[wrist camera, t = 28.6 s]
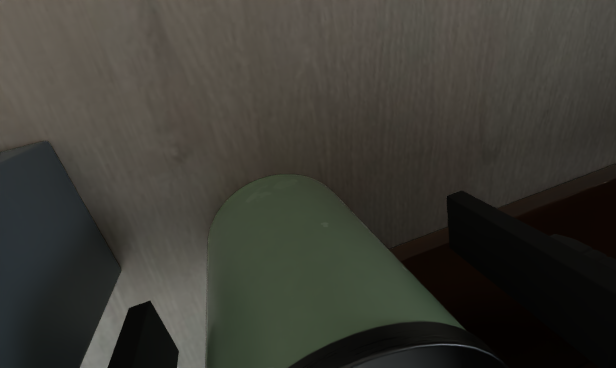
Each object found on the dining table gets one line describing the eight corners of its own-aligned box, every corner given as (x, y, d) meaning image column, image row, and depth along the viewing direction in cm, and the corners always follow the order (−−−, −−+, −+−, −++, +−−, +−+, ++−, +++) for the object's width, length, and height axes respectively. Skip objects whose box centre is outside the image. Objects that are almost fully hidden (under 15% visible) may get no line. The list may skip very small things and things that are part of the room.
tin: (178, 205, 14) (117, 477, 5) (332, 149, 15) (523, 283, 6) (236, 323, 17) (268, 630, 8) (362, 269, 18) (519, 482, 9)
